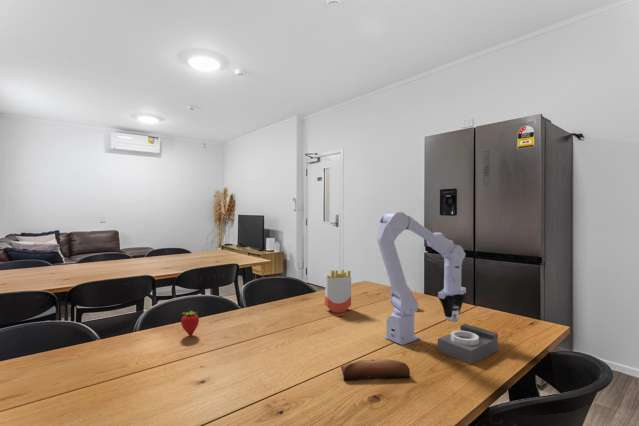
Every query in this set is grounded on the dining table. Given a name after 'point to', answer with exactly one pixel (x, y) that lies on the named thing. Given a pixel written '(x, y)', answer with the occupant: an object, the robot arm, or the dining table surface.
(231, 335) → the dining table surface
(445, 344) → the camera body
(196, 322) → the strawberry
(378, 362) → the sunglasses case
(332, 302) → the french fries container
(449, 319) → the lens
